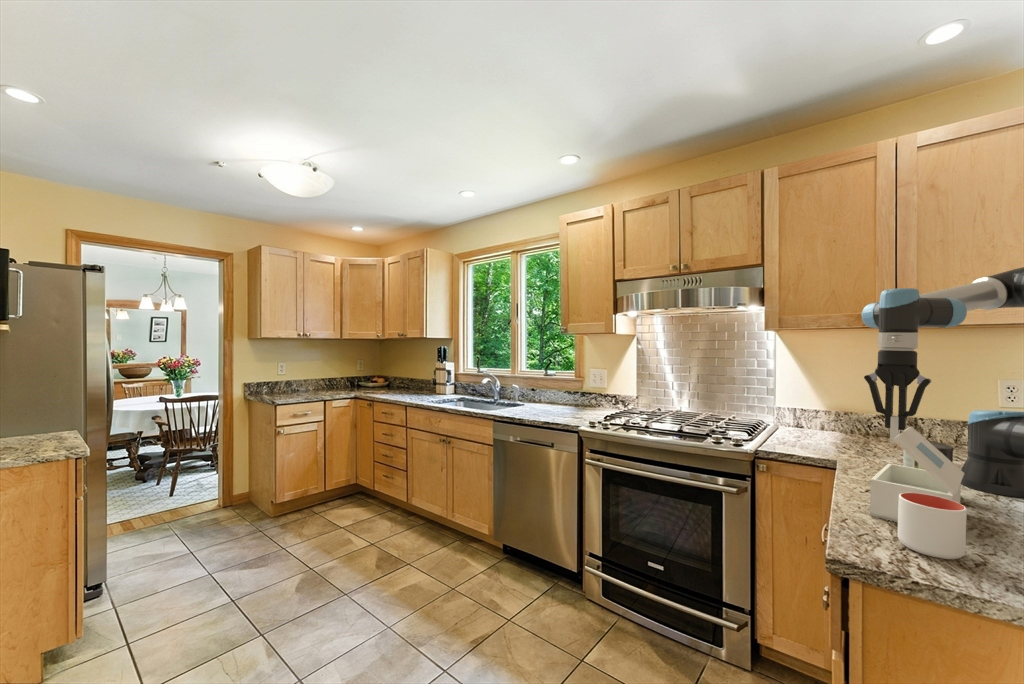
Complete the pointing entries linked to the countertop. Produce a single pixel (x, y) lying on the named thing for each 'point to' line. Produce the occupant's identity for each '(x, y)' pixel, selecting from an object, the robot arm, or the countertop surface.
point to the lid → (930, 459)
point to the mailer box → (902, 489)
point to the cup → (932, 525)
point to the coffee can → (943, 448)
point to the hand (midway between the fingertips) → (894, 441)
